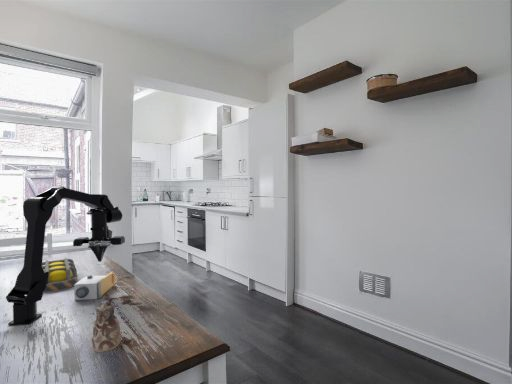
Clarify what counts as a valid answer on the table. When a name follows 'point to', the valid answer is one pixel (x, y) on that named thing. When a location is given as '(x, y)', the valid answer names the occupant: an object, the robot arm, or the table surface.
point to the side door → (106, 284)
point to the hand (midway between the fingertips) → (100, 261)
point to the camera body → (87, 288)
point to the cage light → (60, 274)
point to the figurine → (106, 328)
